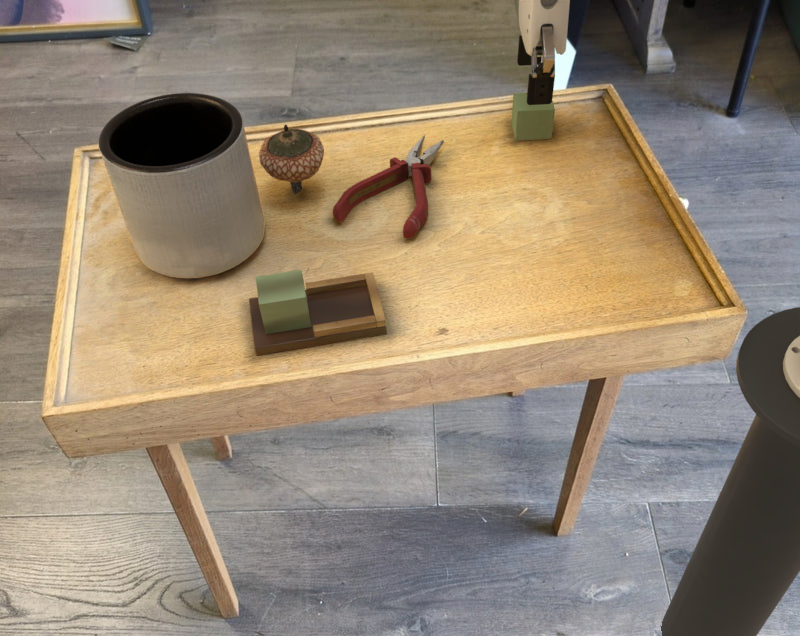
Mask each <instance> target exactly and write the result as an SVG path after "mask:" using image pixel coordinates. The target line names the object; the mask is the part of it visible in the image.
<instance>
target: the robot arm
mask: <svg viewBox="0 0 800 636" xmlns="http://www.w3.org/2000/svg"><path fill="white" fill-rule="evenodd" d="M570 2H571V0H518V25H519V31H520V35H518V46H517V61H516V64H517V65H518V66H520V67H521V66H531V67H530V68H531V73H529V74H528V81H527V89H526V90H527V91H526V93H527V104H528V105H541V104H550V103H551V102H552V101H553V97H554V87H555V78H556V54H557V55H564V54H565V53H566V51H567V40H568V30H569V29H568V28H569V17H570V16H569V15H570V5H571V3H570ZM783 372H784V375H785V379H786V381H787V382H788V384H789V386H790V388H791V389H792V390H793V391H794V392H795V394H796V395H797V396H798V397H799V398H800V336H799V337H797V338H796V339H795V340H794V341H793V342H792V343H791V344H790V345H789V347H788V349H787V351H786V353H785V356H784V360H783Z"/></svg>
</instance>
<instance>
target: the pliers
mask: <svg viewBox="0 0 800 636" xmlns="http://www.w3.org/2000/svg"><path fill="white" fill-rule="evenodd" d="M425 138H426V135H425V134H423V135H422V137H420V138H419V140H418V141H417V142H416V143H415V145H413V146H412V147H411V149H410V150H409V151H408V153H407V155H406V158H405V159H399V158H397V157H392V158H390V159H389V167H388V168H386V169H383V170H381V171H379V172H377V173H375V174H372V175H370V176H369V177H366V178H365V179H362V180H360V181H358V182H357V183H355V184H353V185H351V186H350V187H348V188H347V189H346V190H345V191H344V192H343V193H342V194H341V196H340V197H339V199H338V200H337V202H336V203H335V204H334V206H333V209H332V217H333V218H334V220H335V221H336V222H338V223H343V222H344V221H345V220H346V218H347V217H348V215H349V214H350V212H351V210H353V209H354V208H355V207H356V206H357V205H358V204H360V203H361V202H363V201H365V200H367V199H369V198H371V197H373V196H375V195H378V194H380V193H381V192H384V191H386V190H388V189H390V188H391V187H394V186H396V185H398V184H400V183H404V182H406V180H408V179H409V177H411V181H412V187H413V193H414V199H415V200H414V201H415V208H414V210H412V212H411V213H410V215H409V216H408V217H407V218H406V220H405V222H404V224H403V228H402V237H403V238H404V239H406V240H408V239H409V240H410V239H413V238H414V237H415V236H416V235H417V233H418V232H419V231H420V229H421V228H422V226H423V225H424V224H425V222H426V220H427V218H428V214H429V201H428V195H427V189H426V184H429V183H431V181H432V168H431V166H430V165H431V164H432V163H433V160H434V159H435V157H436V156H437V154H438V153H439V151H440V149H441V148H442V146H443V144H444V143H445V140H444V139H442V140H441V141H438V142H436V143H435V144H433V145H431V146H429V147H428V148H427V149H426V150H424V151H423V154H422V155H421V151H422V148H423V144H424V141H425ZM420 155H421V156H420Z"/></svg>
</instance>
